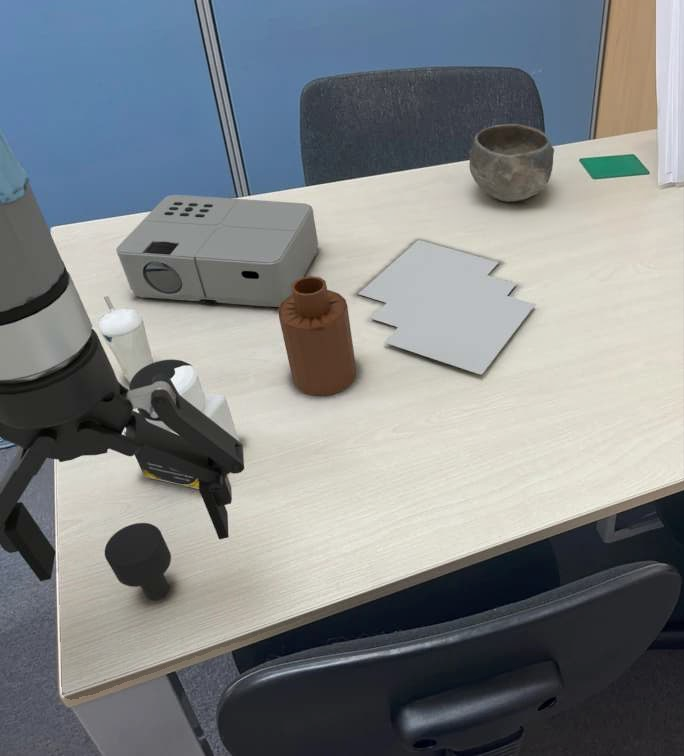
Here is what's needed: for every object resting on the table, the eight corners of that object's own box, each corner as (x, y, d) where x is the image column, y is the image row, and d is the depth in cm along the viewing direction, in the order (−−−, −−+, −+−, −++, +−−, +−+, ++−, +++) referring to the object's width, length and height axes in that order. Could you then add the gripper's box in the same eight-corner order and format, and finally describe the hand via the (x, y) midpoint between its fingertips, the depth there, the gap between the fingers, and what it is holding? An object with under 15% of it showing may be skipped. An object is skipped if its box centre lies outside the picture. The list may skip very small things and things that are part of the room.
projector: (181, 239, 109) (166, 192, 104) (322, 248, 108) (314, 202, 103) (129, 301, 96) (109, 251, 91) (288, 313, 95) (278, 263, 90)
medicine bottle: (143, 477, 73) (103, 391, 65) (182, 430, 79) (150, 345, 71) (205, 492, 72) (172, 406, 64) (241, 442, 77) (215, 358, 69)
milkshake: (152, 356, 88) (126, 288, 81) (168, 379, 85) (143, 310, 78) (113, 370, 86) (84, 302, 79) (128, 394, 83) (99, 325, 76)
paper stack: (322, 325, 93) (321, 321, 93) (418, 240, 111) (418, 236, 110) (481, 379, 86) (481, 374, 86) (557, 278, 104) (558, 274, 103)
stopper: (129, 618, 61) (101, 572, 57) (132, 576, 65) (106, 529, 60) (183, 605, 63) (160, 559, 58) (184, 564, 66) (162, 517, 61)
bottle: (296, 401, 83) (276, 310, 74) (290, 361, 88) (270, 272, 79) (360, 389, 84) (348, 299, 76) (351, 351, 90) (338, 263, 81)
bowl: (461, 208, 119) (460, 151, 112) (480, 169, 130) (481, 115, 124) (543, 218, 117) (547, 160, 111) (555, 178, 129) (560, 123, 122)
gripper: (233, 285, 51) (287, 479, 65) (-179, 347, 45) (-21, 546, 59) (237, 348, 46) (295, 544, 60) (-229, 428, 40) (-43, 626, 54)
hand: (138, 545), depth 59 cm, fingers open, 13 cm apart
